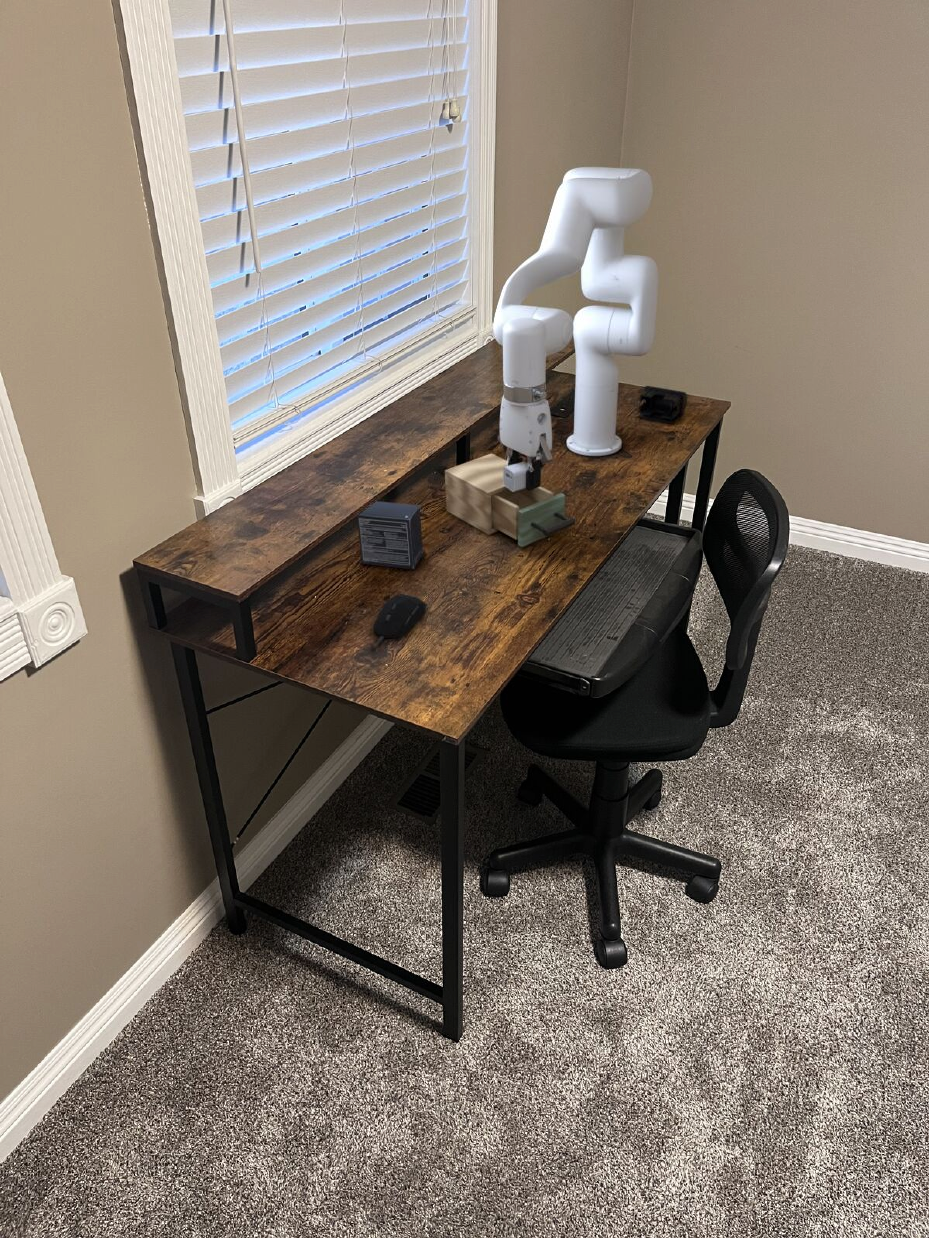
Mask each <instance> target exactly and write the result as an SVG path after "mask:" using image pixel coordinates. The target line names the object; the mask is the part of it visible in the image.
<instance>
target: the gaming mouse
mask: <svg viewBox="0 0 929 1238" xmlns="http://www.w3.org/2000/svg"><path fill="white" fill-rule="evenodd" d="M425 611H426V603H425V602H424V601H423V600H422V599H420V598H418V597H417V596H414V595H409V594H405V593H400V594H396V595H393V596H391V597H389V598H388V599H387V600H386V601H385V602H384V603H383V606H382V607H381V609H380V611H379V613H378V614H377V617H376V619H375V622H374V625H373V633H374V634H376V635H377V636H378V637H379V638H378V639H377V642H376V643H375V644H374V645H373V646H372V649H373V650H376V648H377V647H378V646H379V644H381V643H382V642H383V640H384V639H397V638H400V637H402V636H404V635H405V634H406V633H407V632H408V631H409V630H410V629H412V627H413V626H414V625H415V624H416V623H417V622H418V621H419V620H420V619H421V618H422V617H423V616H424V614H425Z"/></svg>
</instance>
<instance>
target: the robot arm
mask: <svg viewBox="0 0 929 1238" xmlns="http://www.w3.org/2000/svg"><path fill="white" fill-rule="evenodd" d="M653 188H654V187H653V181H652V177H651V175H650V174H649V172H648V171H646V170H645V169H642V168H631V167H629V168H628V167H607V166H581V167H574V168H572V169H570V170H568V171H567V172H566V173H565V174H564V176H563V180H562V183H561V185H560V186H559V187H558V189H557V190H556V194H555V196H554V200H553V203H552V206H551V210H550V214H549V217H548V220H547V224H546V227H545V230H544V233H543V237H542V240H541V243H540V247H539V249H538V251H537V252H535V253H534V254H533V255H531V256H530V257H529V258H527V259H526V260H525V261H524V262H522V263H521V264H520V265H519V267H518V268H516V270H515V271H514V272H512V274H511V275H510V276H509V277H508V279H507V280H506V282H505V284H504V285H503V288H502V290H501V293H500V296H499V300H498V303H497V307H496V310H495V312H494V313H495V314H494V317H493V325H492V331H493V336H494V339H495V341H496V342H497V343H498V344H499V345H501V346H502V375H503V376H502V377H503V379H502V381H503V382H502V383H503V385H502V386H503V389H502V390H503V393H502V394H503V395H502V397H501V404H500V412H499V413H500V414H499V433H498V435H497V437H496V439H497V441H498V442H499V444H500V446H501V447H502V450H503V452H504V453H505V458H504V459H505V460H506V461H508V466H510V465H513V464H517V463H521V462H524V461H523V460H524V459H523V457H521V454H522V455H524V456H526V461H527V462H526V463H527V464H528V469H529V470H527V471H526V490H528V491H530V490H533V489H535V488H538V487H541V486H542V485H541V483H542V482H541V481H542V475H541V474H542V472H541V471H542V469H543V468H544V467H545V465H547V464H549V463H550V462H552V461H553V460H554V458H553V455H552V452H551V451H552V449H553V429H552V415H551V409H550V405H549V400H548V399H546V398H547V396H548V394H547V392H546V388H547V387H546V384H547V383H546V380H547V379H546V377H547V376H546V373H547V372H546V371H547V369H546V368H547V357H548V356H552V355H554V354H557V353H559V352H561V351H563V350H564V349H565V348H566V347H567V346H568V345H569V343H570V342H571V341H572V339H573V344H574V351H575V383H574V385H575V386H574V389H575V390H574V412H573V415H574V416H573V417H574V418H573V433H572V434H571V435H569V436H568V437H567V438H566V446H567V448H568V449H569V450H570V451H571V452H572V453H575V454H578V455H581V456H588V457H603V456H608V455H612V454H615V453H617V452H619V450H620V449H621V448H622V443H623V441H622V438H621V437H619V436H618V435H616V433H617V432H616V430H617V414H618V413H617V412H618V401H619V399H618V398H619V381H620V371H619V367H618V364H617V362H616V359H615V358H614V356H613V355H621V356H629V357H630V356H631V357H643V356H646V355H647V354H648V353H650V351H651V350H652V348H653V345H654V343H655V336H656V328H657V327H656V326H657V311H658V298H659V283H660V282H659V278H660V277H659V268H658V265H657V263H656V261H655V260H654V259H653V258H652V257H650V256H647V255H643V254H642V255H640V254H629V253H628V254H627V253H626V252H625V250H624V249H625V247H624V245H625V229H628V228H629V227H631V226H632V225H634V224H635V223H636V222H637V221H638V220H640V219H641V218H642V217H643V216H644V215H645V214H646V213H647V211H648V209H649V208H650V205H651V202H652V198H653V192H654V190H653ZM580 270H581V271H580ZM579 271H580V285H581V292H582V294H583V296H584V297H585V298H587V299H589V300H591V301H596V302H602V303H603V302H604V303H613V304H614V303H616V304H626V305H629V306H630V307H629V308H628V307H618V306H608V305H588V306H584V307H582V308H581V309H579V310H578V311H577V312H576V314H575V316H574V318H572V316H571V315H570V314H569V313H568V312H567V311H565V310H564V309H560V308H554V307H544V306H543V307H542V306H536V305H535V306H534V305H523V304H522V303H523V302H524V301H525V299H526V298H527V297H528V296H529V295H530V294H532V293H533V292H534V291H536V290H538V289H539V288H542V287H544V286H546V285H549V284H551V283H554V282H558V281H560V280H563V279H565V278H568V277H571V276H572V275H575V274H576V273H578V272H579ZM534 458H535V461H534Z"/></svg>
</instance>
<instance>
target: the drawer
mask: <svg viewBox="0 0 929 1238" xmlns="http://www.w3.org/2000/svg"><path fill="white" fill-rule="evenodd" d="M565 511H566V495H565V493H563V492H560V493H558V494H555V495H554V492H553V491H551V490H549V489H547V488H545V487H542V486H540V487H538V488H535V489H533V490H530V491H528V490H526V488H525V489H522V490H518V491H515V492H512V491H511V490H510V489H506V490H503V491H501V492H498V493H496V494H493V495H491V520H492V527H494V528H496V529H498V530H499V531H500V532H501V533H503V534H505V535H507V536H509V537H511V538H512V539H514V540H516V541H517V545H518V546H519V547H521V548H524V547H526V546H528V545H530V544H533V543H535V542H538V541H540V540H541V539H545V538H546V537H549V536H551V535H554V534H556V533H558V532H560V531H562V530H564V529H567V528H569V527H571V526H573V525H575V524H576V520H575V518H574V517H567V516H565V515H566V512H565Z"/></svg>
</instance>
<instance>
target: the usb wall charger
mask: <svg viewBox="0 0 929 1238" xmlns="http://www.w3.org/2000/svg"><path fill="white" fill-rule="evenodd" d="M527 470H529V469H528V463H527V462H526V461H523V462H521V463H517V464H513V465H510V466H506V467H504V468H503V483H504V486H505V487H507V488H508V489H510V490H511V491H512V492H515V491H518V490H522V489H525V488H526V471H527ZM543 474H544V471H543V470H541V476H542V475H543Z"/></svg>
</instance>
